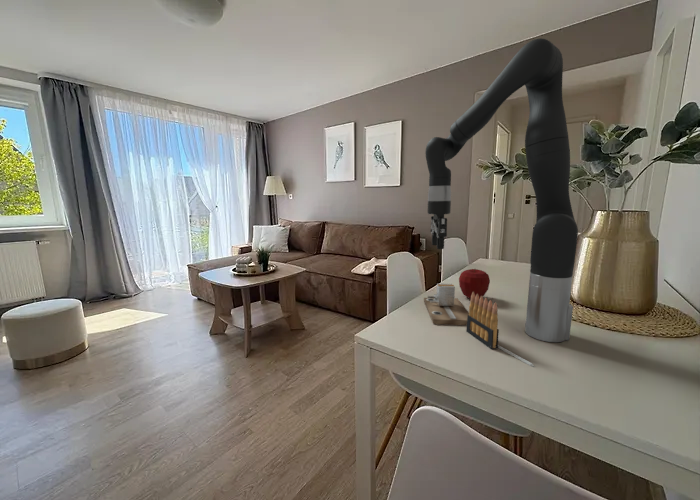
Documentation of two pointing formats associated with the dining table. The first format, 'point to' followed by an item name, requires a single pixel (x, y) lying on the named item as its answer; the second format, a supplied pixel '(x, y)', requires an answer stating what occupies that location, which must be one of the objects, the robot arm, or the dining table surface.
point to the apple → (474, 282)
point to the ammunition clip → (483, 321)
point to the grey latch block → (445, 295)
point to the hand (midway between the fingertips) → (437, 247)
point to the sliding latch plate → (446, 312)
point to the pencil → (516, 356)
